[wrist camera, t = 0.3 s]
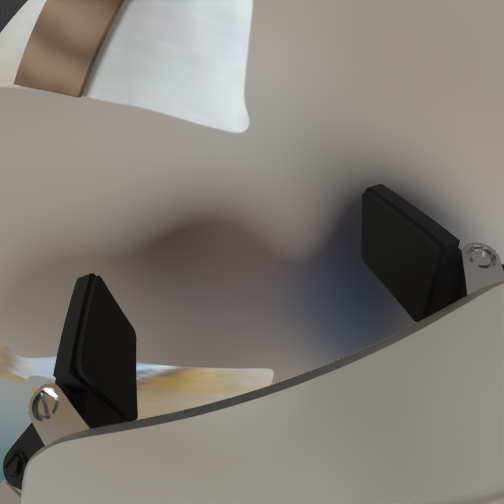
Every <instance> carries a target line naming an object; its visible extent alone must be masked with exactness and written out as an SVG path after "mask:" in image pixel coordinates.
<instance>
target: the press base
mask: <svg viewBox="0 0 504 504" xmlns="http://www.w3.org/2000/svg"><path fill="white" fill-rule="evenodd" d="M123 1H124V0H47V1H46V3H45V5H44V7H43V9H42V11H41V13H40V15H39V17H38V20H37V22H36V24H35V26H34V29H33V31H32V33H31V36H30V38H29V41H28V43H27V46H26V49H25V51H24V54H23V57H22V60H21V63H20V65H19V68H18V72H17V75H16V78H15V81H14V84H15V85H21V86H26V87H32V88H37V89H42V90H46V91H51V92H56V93H60V94H65V95H69V96H73V97H77V98H78V97H81V95H82V92H83V89H84V86H85V84H86V81H87V78H88V76H89V73H90V71H91V68H92V66H93V63H94V61H95V58H96V56H97V54H98V51H99V49H100V47H101V44H102V42H103V40H104V38H105V36H106V34H107V32H108V29H109V27H110V25H111V23H112V21H113V19H114V17H115V16H116V14H117V12H118V10H119V8H120V6H121V4H122V2H123Z"/></svg>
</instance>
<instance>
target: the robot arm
mask: <svg viewBox="0 0 504 504" xmlns="http://www.w3.org/2000/svg"><path fill="white" fill-rule="evenodd" d="M459 242H460V241H459V240H458V239H457V238H456V237H455V236H453V235H452V234H451V233H450V232H448V231H447V230H446V229H444V228H443V227H442V226H440V225H439V224H438V223H436V222H435V221H434V220H433V219H431V218H430V217H428V216H427V215H426V214H424V213H423V212H421V211H420V210H419V209H417V208H416V207H415V206H413V205H412V204H410V203H409V202H408V201H406V200H405V199H403V198H402V197H400V196H399V195H397V194H396V193H394V192H393V191H391V190H390V189H388V188H387V187H385V186H384V185H382V184H380V185H376V186H372V187H369V188H367V189H366V191H365V193H363V196H362V258H363V261H364V262H365V264H366V265H367V266H368V267H369V268H370V269H371V271H372V272H373V273H374V274H375V275H376V276H377V277H378V278H379V280H380V281H381V282H382V283H383V284H384V285H385V287H386V288H387V289H388V290H389V291H390V292H391V293H392V295H393V296H394V297H395V298H396V299H397V301H398V302H399V303H400V304H401V305H402V306H403V308H404V309H405V310H406V311H407V313H408V314H409V315H410V316H411V317H412V319H413V320H414V321H416V322H418V323H416V324H414V325H412V326H410V327H408V328H406V329H404V330H402V331H400V332H398V333H396V334H394V335H392V336H390V337H388V338H386V339H384V340H382V341H380V342H377V343H375V344H373V345H371V346H369V347H367V348H364V349H362V350H360V351H358V352H355V353H353V354H351V355H349V356H346V357H344V358H341V359H339V360H337V361H334V362H332V363H330V364H327V365H324V366H322V367H320V368H317V369H314V370H312V371H309V372H306V373H304V374H301V375H298V376H296V377H293V378H290V379H287V380H284V381H282V382H279V383H276V384H273V385H270V386H267V387H264V388H261V389H258V390H255V391H251V392H248V393H245V394H242V395H238V396H235V397H232V398H228V399H225V400H221V401H218V402H214V403H210V404H206V405H203V406H199V407H195V408H191V409H186V410H182V411H178V412H173V413H169V414H164V415H160V416H155V417H150V418H145V419H140V420H136V419H137V417H138V411H137V386H136V334H135V330H134V328H133V327H132V325H131V324H130V322H129V321H128V319H127V318H126V316H125V315H124V313H123V312H122V310H121V309H120V307H119V305H118V304H117V302H116V301H115V299H114V298H113V296H112V294H111V293H110V291H109V290H108V288H107V286H106V285H105V283H104V281H103V280H102V278H101V277H100V276H96V275H94V274H93V273H91V274H88V275H85V276H83V277H80V278H78V279H77V281H76V284H75V288H74V291H73V294H72V298H71V301H70V305H69V309H68V312H67V316H66V320H65V324H64V328H63V332H62V336H61V341H60V345H59V349H58V354H57V359H56V364H55V369H54V374H53V376H54V377H56V381H55V384H53V383H50V384H45V385H43V386H41V387H40V388H38V389H37V390H36V391H35V393H34V394H33V396H32V398H31V400H30V403H29V416H30V419H31V421H32V423H31V424H30V425H29V427H28V428H27V429H26V430H25V432H24V433H23V434H22V435H21V436H20V438H19V439H18V440H17V441H16V442H15V444H14V445H13V446H12V448H11V449H10V450H9V451H8V453H7V454H6V456H5V459H4V463H3V471H4V476H5V478H6V480H7V481H4V480H2V482H1V484H0V504H504V265H503V264H501V261H500V258H499V256H498V254H497V253H496V252H495V250H493V249H492V248H491V247H489V246H487V245H485V244H481V243H468V244H466V245H465V246H464V247H463V249H462V251H461V250H460V249H459V248H458V246H459ZM134 420H135V421H134Z"/></svg>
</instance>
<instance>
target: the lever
mask: <svg viewBox="0 0 504 504" xmlns="http://www.w3.org/2000/svg"><path fill="white" fill-rule="evenodd" d="M27 1H28V0H0V32H1V31H2V30H3V29H4V27H5V26H6V25H7V24H8V22H9V21H10V20H11V19H12V17H13V16H14V15H15V14H16V13H17V12H18V11H19V9H20V8H21V7H22V6H23V5H24V4H25V3H26V2H27Z"/></svg>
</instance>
